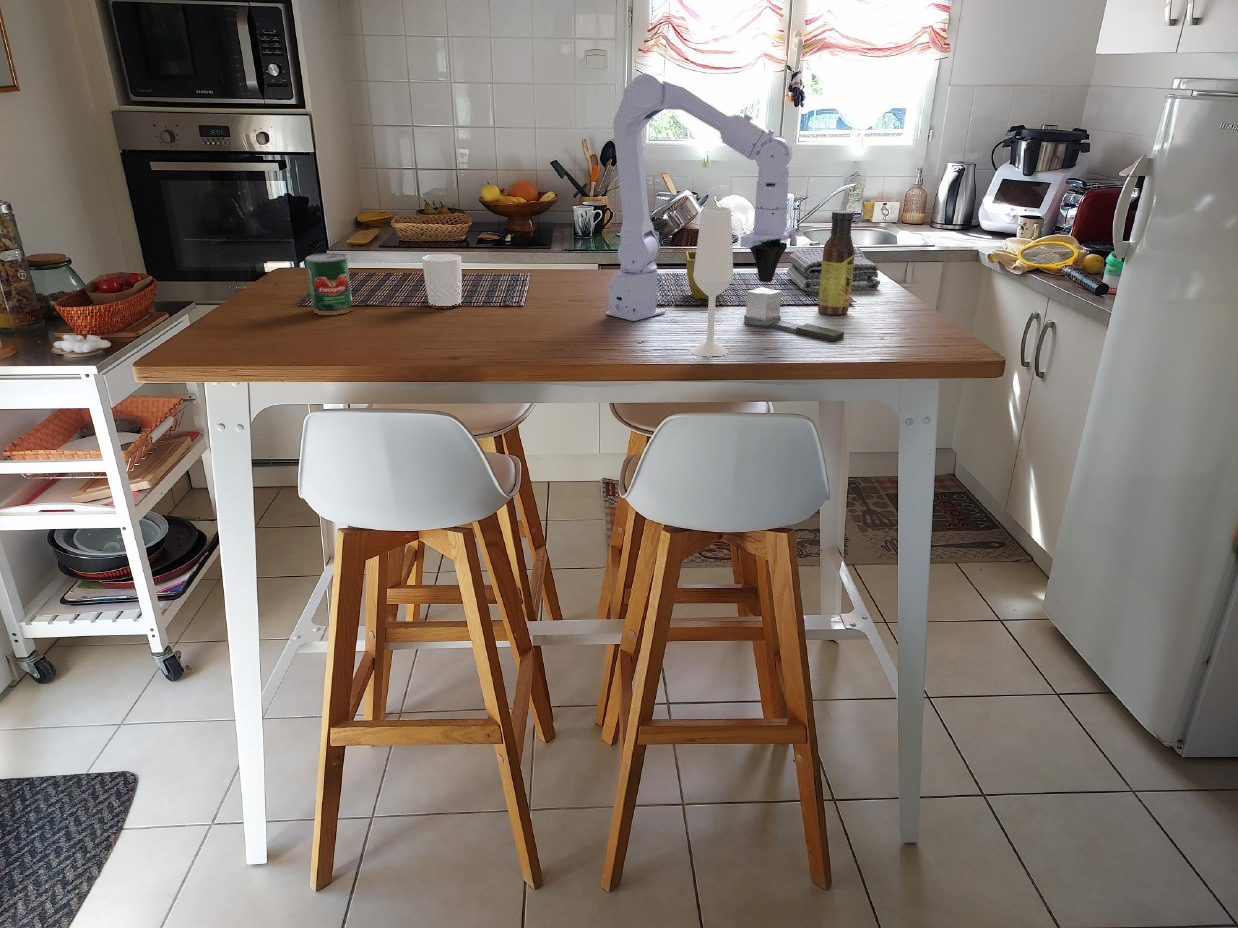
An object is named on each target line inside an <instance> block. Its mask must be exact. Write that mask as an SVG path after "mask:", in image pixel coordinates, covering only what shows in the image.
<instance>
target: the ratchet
mask: <svg viewBox="0 0 1238 928" xmlns="http://www.w3.org/2000/svg"><path fill="white" fill-rule="evenodd" d="M781 318H782V316H780V315H779V317H777V318H774V319H770V320H767V321H762V320H758V319H754V318H749V317H746V314H744V319H743V323H744V326H748V327H751V328H757V329H775V330H779V331H782V332H786V333H792V334H795V335H797V336H798V335H799V336H802V337H806V338H811V339H815V340H818V341H819V340H820V341H824V342H826V343H827V342H828V343H832V344H833V343H835V342H839V341H841V340H844V339H845V331H841V330H838V329H834V328H833V329H832V328H828V327H825V326H820V325H814V324H809V323H805V324H800V323H799V324H798V323H793V322H789V321H786V320H785V321H784V320H782V319H781Z"/></svg>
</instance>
